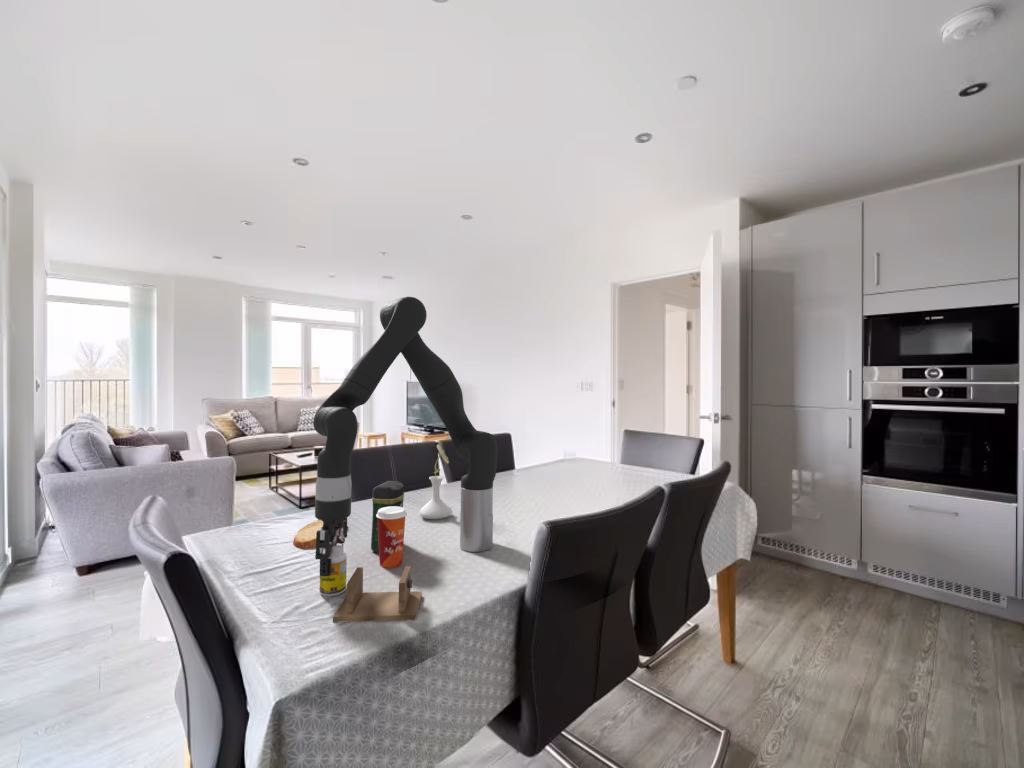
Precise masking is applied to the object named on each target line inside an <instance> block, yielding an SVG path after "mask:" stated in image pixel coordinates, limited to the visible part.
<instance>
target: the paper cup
mask: <svg viewBox="0 0 1024 768" xmlns="http://www.w3.org/2000/svg"><path fill="white" fill-rule="evenodd" d="M407 514H408V513H407V512H406V509H405V508H404V506H403V507H398V506H389V507H384V508H381V509H379V510H378V513H377V515H376V517H377V520H378V542H379V553H378V555H379V556H378V557H379V566H380V567H381V568H386V569H393V568H397V567H399V566H401V565H402V564H403V555H404V543H405V526H406V516H407Z"/></svg>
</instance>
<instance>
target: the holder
mask: <svg viewBox="0 0 1024 768" xmlns="http://www.w3.org/2000/svg"><path fill="white" fill-rule="evenodd" d="M411 571H412V567H411V565H410V566H404V569H403V571H402V574H401V577H400V579H399V583H398V591H384V592H383V591H382V592H381V591H379V592H378V591H376V592H373V591H372V592H371V591H370V592H364V566H361V567H359V566H358V567H356V569H355V571H353V573H352V575H351V577H350V578H349V580H348V581H347V582H346V594H345V596H344V597H343V600H342V601H341V603H340V604H339V606H338V608H337V609H336V611H335V613H334V614H333V616H332V623H353V622H354V623H356V622H358V623H359V622H384V621H385V622H389V621H390V622H391V621H393V622H394V621H416V618H417V615H418V612H419V608H420V603H421V600H422V594H423V593H422V592H423V591H422V590H420V591H419V590H418V591H412V590H411V589H412V587H413V579H411V575H412V572H411Z"/></svg>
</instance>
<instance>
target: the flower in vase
mask: <svg viewBox="0 0 1024 768" xmlns="http://www.w3.org/2000/svg"><path fill="white" fill-rule="evenodd" d="M436 448H437V451H438V453H439V456H438V457H437V459H436V461H435V464H434V472H433V474H434V475H432V476H429V477H428V479H429V480H430V482H431V486H432V497H431V499H430V500H429V501H428V502H427V503H426V504H424V505H423V506H422V508H420V509H419V513H418V514H419V515H420V517H422V518H424V519H428V520H429V519H430V520H440V519H444V518H447V517H450V516H451V515H452V514H453V509H452V507H451V506H449V505H448V504H447V503H446V502H444V501H443V500H442V498H441V497H440V496H441V495H440V487H441V483H442V480H443V479H444V476H442V475H437V473H439V472H440V471H441V469H440V468H437V465H438V464H437V463H438V462H439V459H440V457H442V460H444V462H445V463H446V464H449V463H450V461H449V457H448V456H447V455H446V454H445V453H446V452H445V450H443V449H442V446H441V445H440V444H439V443H438V444H436Z"/></svg>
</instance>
